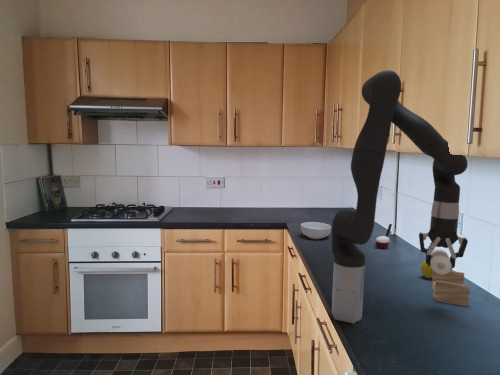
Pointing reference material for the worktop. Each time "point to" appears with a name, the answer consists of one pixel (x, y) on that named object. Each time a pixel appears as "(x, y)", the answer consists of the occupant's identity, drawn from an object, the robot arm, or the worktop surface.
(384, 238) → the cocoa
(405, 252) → the worktop surface
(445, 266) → the paper roll
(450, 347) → the worktop surface
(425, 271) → the lemon
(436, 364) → the worktop surface
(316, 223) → the cereal bowl
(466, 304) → the roll holder
